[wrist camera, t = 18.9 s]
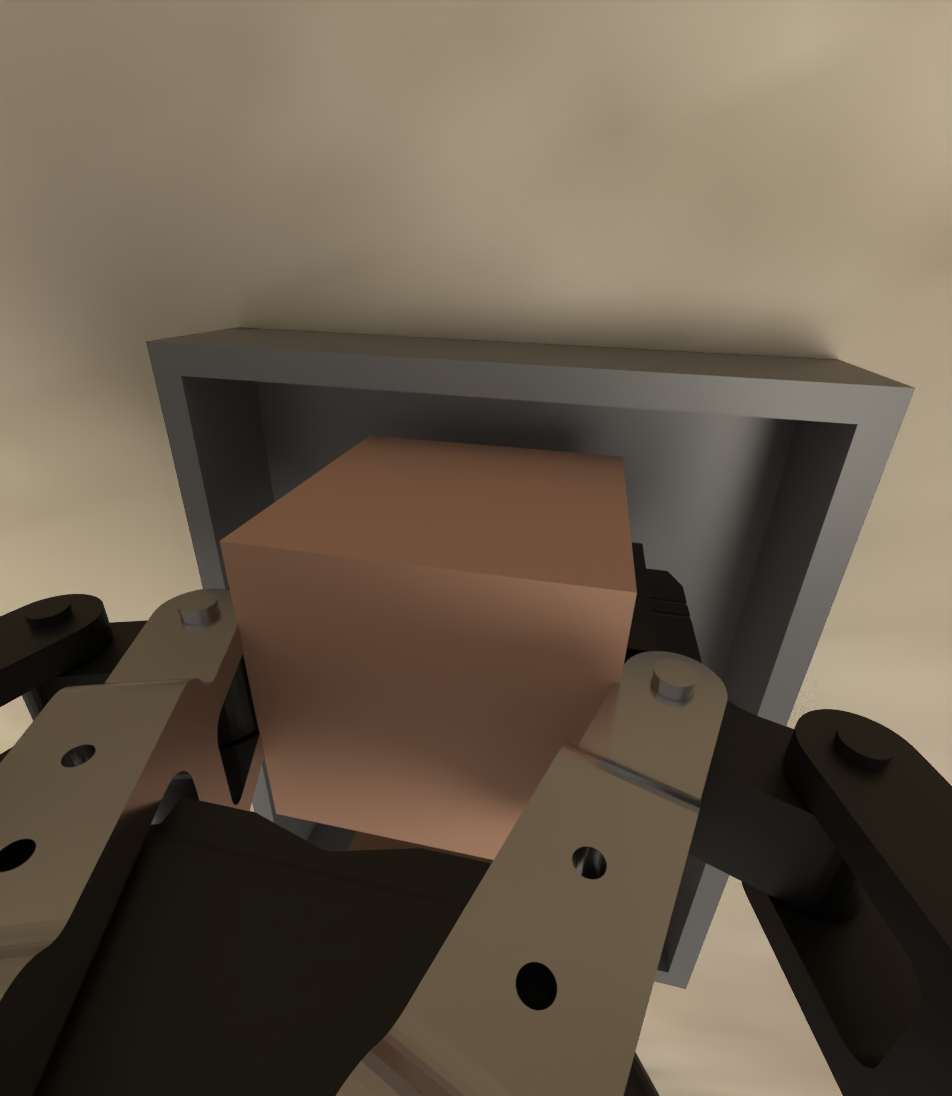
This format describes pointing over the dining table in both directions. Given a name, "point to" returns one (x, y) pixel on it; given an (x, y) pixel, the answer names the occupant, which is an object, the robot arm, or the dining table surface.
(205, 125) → the dining table surface
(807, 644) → the charcoal tray
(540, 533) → the terracotta block
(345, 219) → the dining table surface
